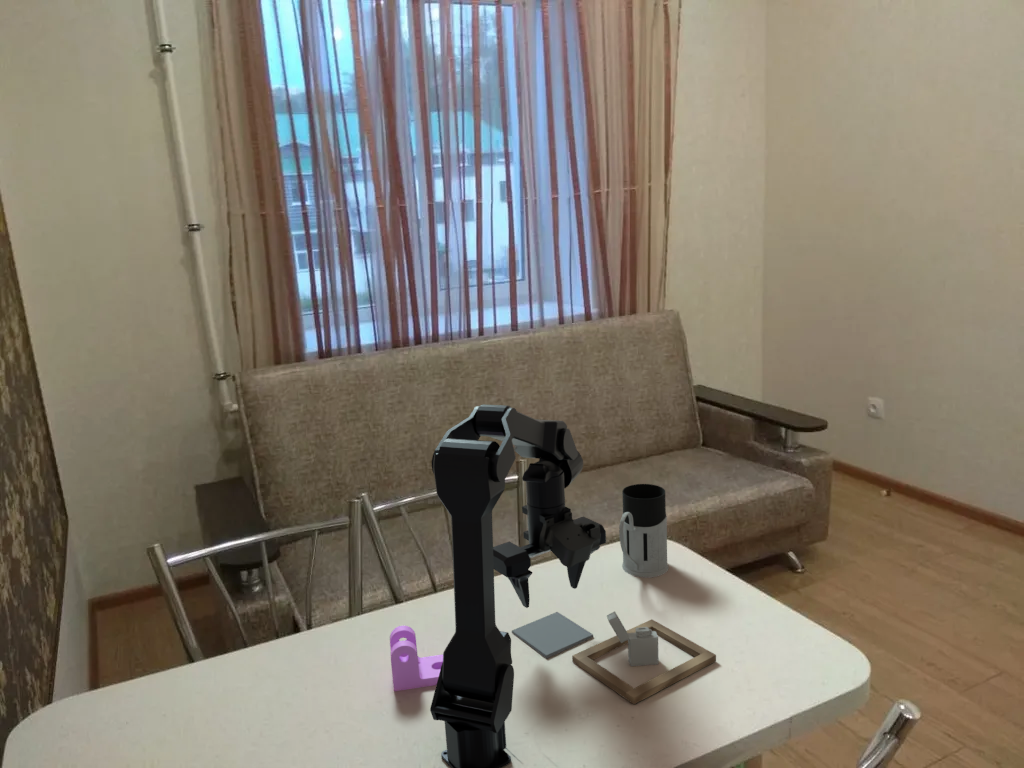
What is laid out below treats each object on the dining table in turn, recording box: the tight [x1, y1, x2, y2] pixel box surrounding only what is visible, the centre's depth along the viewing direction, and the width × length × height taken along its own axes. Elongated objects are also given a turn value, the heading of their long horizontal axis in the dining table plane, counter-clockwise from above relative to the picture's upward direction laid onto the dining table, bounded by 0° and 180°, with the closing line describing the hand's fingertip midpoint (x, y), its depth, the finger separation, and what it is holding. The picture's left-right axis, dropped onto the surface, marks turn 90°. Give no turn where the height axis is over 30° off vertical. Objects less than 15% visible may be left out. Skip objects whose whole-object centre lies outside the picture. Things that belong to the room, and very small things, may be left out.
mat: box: [511, 611, 594, 659], centre depth 124 cm, size 9×9×1 cm
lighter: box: [606, 611, 660, 667], centre depth 115 cm, size 7×2×8 cm, turn 92°
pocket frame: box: [571, 618, 717, 705], centre depth 116 cm, size 16×13×1 cm
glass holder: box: [618, 483, 669, 579], centre depth 140 cm, size 9×14×15 cm, turn 148°
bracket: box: [389, 624, 443, 692], centre depth 115 cm, size 13×6×7 cm, turn 100°
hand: (550, 597), depth 122 cm, fingers open, 9 cm apart
